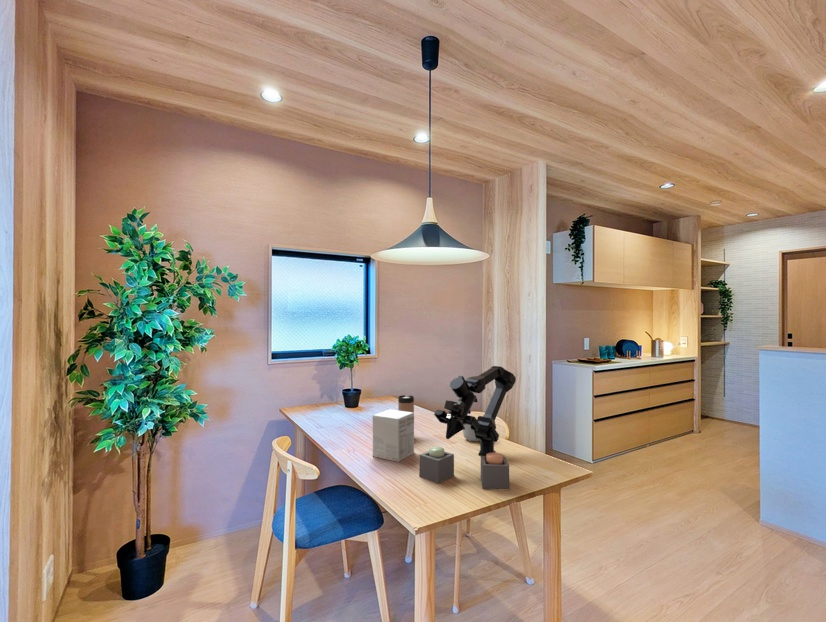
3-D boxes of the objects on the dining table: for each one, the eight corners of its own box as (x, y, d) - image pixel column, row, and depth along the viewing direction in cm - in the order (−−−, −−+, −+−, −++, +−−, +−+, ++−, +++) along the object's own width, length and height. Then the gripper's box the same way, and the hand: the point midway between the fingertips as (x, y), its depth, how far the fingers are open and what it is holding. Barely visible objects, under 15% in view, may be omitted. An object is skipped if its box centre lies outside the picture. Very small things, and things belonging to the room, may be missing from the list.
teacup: (480, 444, 187) (480, 427, 187) (458, 441, 192) (458, 424, 192) (490, 436, 199) (490, 420, 199) (469, 433, 204) (469, 417, 204)
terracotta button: (485, 460, 146) (485, 452, 146) (501, 461, 145) (501, 452, 145) (487, 466, 140) (486, 457, 140) (503, 467, 140) (503, 458, 140)
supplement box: (415, 452, 176) (414, 412, 176) (398, 462, 164) (398, 418, 165) (389, 448, 183) (389, 408, 183) (371, 456, 171) (371, 414, 171)
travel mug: (404, 441, 192) (404, 398, 192) (395, 437, 198) (395, 396, 198) (417, 438, 196) (417, 396, 196) (408, 434, 202) (407, 394, 203)
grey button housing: (435, 469, 156) (435, 448, 156) (454, 476, 150) (453, 454, 150) (419, 476, 150) (419, 454, 150) (438, 483, 143) (438, 460, 143)
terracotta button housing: (480, 478, 148) (480, 456, 148) (506, 479, 147) (505, 456, 147) (482, 488, 139) (482, 465, 139) (509, 489, 138) (509, 466, 138)
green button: (435, 453, 154) (435, 445, 154) (447, 457, 150) (447, 448, 150) (425, 457, 150) (425, 449, 150) (437, 461, 146) (437, 452, 146)
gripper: (436, 389, 165) (418, 421, 157) (475, 395, 152) (457, 431, 144) (449, 405, 170) (431, 438, 162) (487, 413, 158) (470, 448, 149)
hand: (446, 438), depth 154 cm, fingers closed
